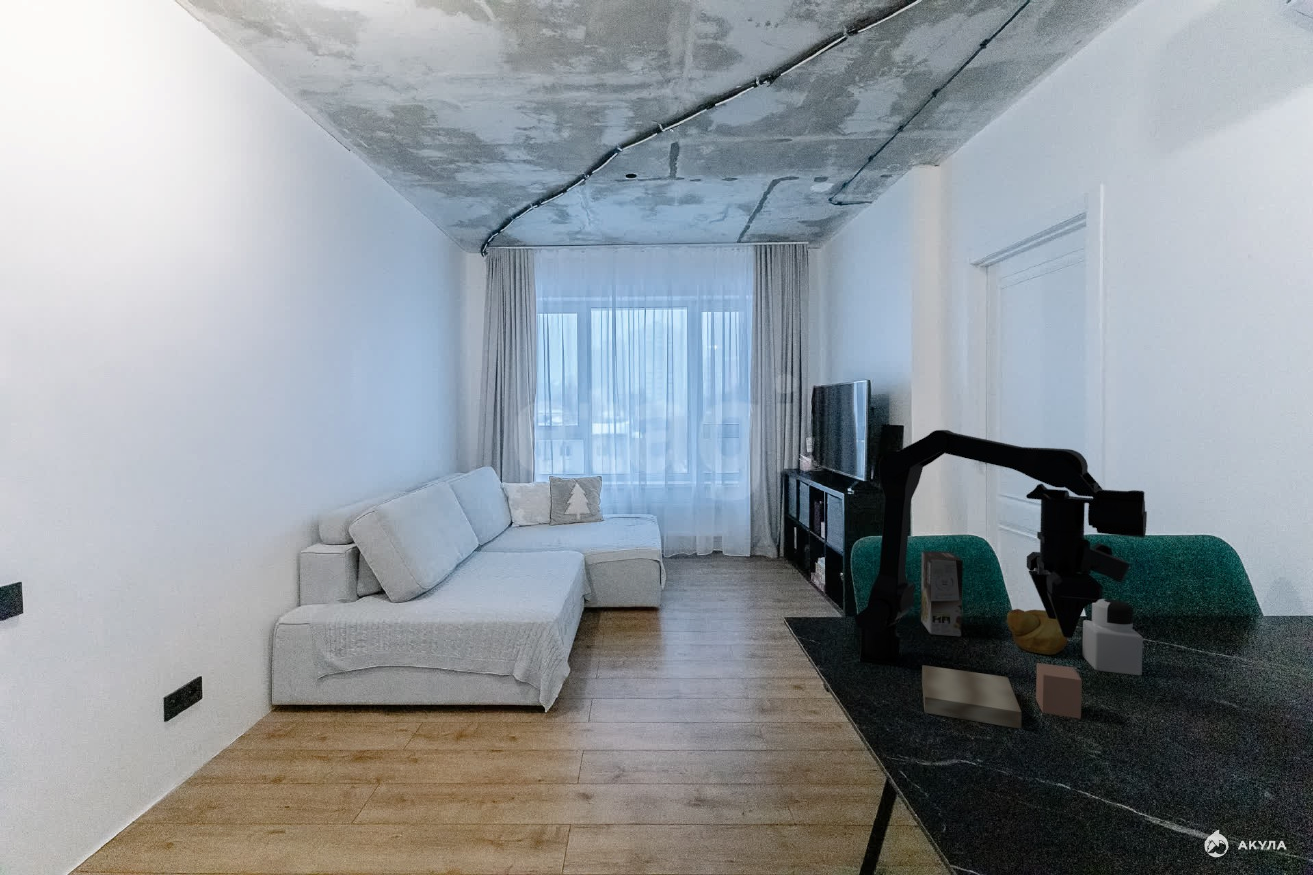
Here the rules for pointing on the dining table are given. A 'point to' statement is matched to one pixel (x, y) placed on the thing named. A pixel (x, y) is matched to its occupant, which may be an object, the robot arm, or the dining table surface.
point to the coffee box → (941, 592)
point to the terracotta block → (1058, 690)
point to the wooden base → (970, 696)
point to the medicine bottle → (1112, 638)
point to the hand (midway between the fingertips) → (1059, 627)
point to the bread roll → (1036, 631)
